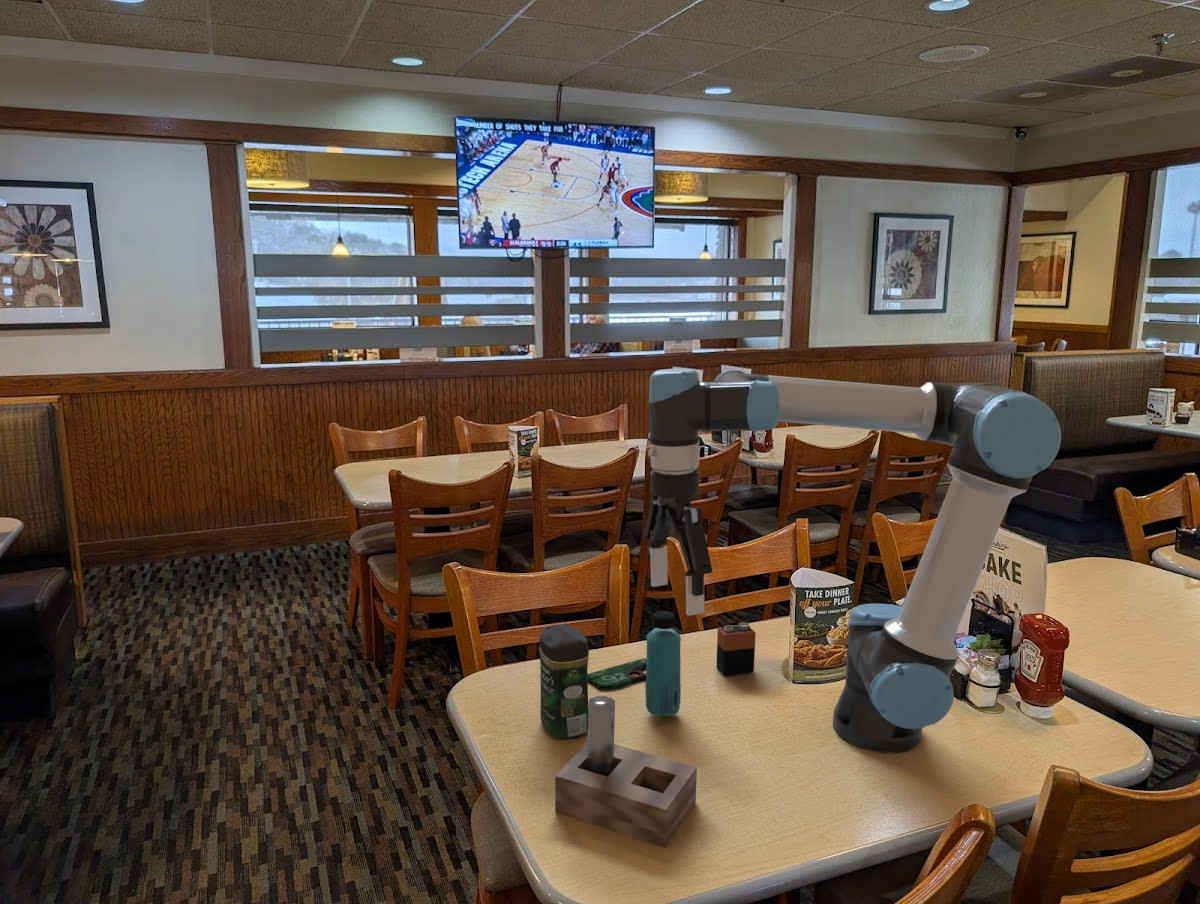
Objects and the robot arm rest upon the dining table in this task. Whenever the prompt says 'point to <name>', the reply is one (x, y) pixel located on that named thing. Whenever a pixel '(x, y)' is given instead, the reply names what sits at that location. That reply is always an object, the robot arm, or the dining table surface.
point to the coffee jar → (564, 681)
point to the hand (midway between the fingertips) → (676, 598)
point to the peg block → (629, 794)
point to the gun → (619, 675)
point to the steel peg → (601, 735)
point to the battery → (735, 649)
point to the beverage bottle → (663, 666)
